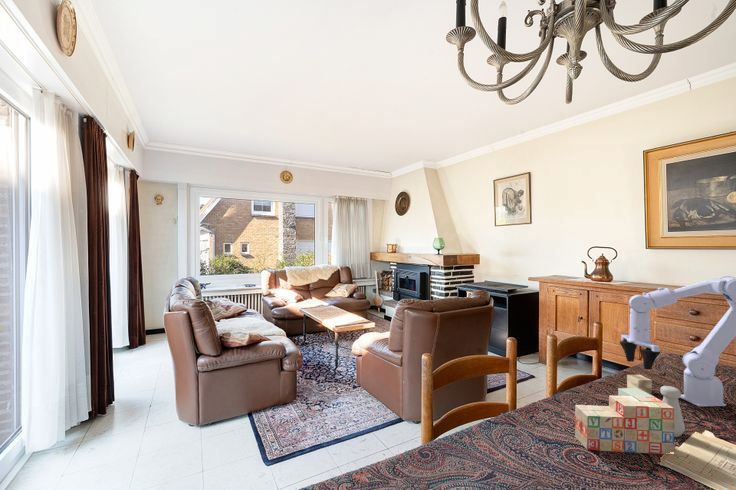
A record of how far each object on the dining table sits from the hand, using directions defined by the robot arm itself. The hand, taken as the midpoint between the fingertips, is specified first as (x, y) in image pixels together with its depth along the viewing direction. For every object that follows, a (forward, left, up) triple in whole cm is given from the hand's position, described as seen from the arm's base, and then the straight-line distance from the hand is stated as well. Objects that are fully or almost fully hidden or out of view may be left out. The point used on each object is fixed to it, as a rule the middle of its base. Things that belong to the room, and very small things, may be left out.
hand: (638, 364), depth 123 cm
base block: (+8, +8, -10) cm, 15 cm away
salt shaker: (+14, +27, -10) cm, 32 cm away
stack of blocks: (+32, +32, -10) cm, 46 cm away
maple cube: (0, 0, -10) cm, 10 cm away
